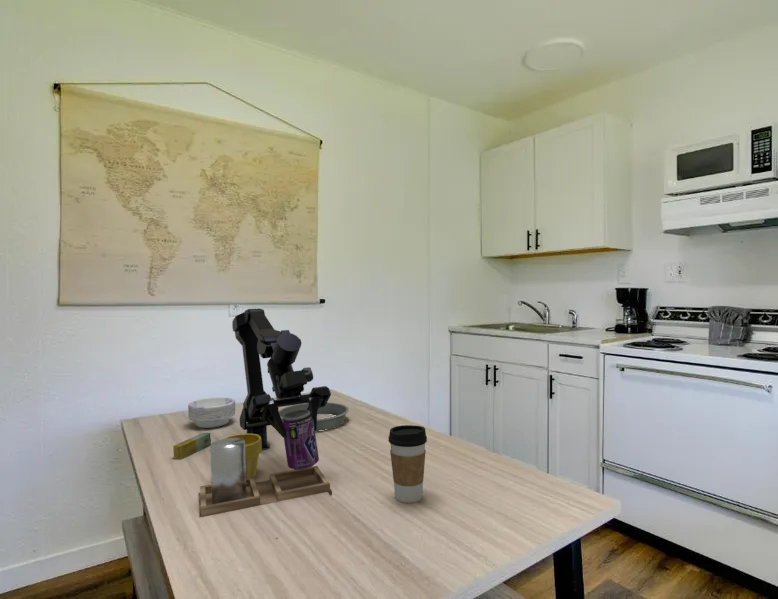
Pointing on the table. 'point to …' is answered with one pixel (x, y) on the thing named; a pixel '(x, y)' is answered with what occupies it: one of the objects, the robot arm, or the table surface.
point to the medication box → (191, 446)
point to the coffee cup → (408, 461)
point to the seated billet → (228, 470)
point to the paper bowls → (211, 411)
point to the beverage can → (300, 440)
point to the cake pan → (328, 409)
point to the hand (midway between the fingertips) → (300, 433)
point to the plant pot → (250, 451)
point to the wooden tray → (268, 491)
